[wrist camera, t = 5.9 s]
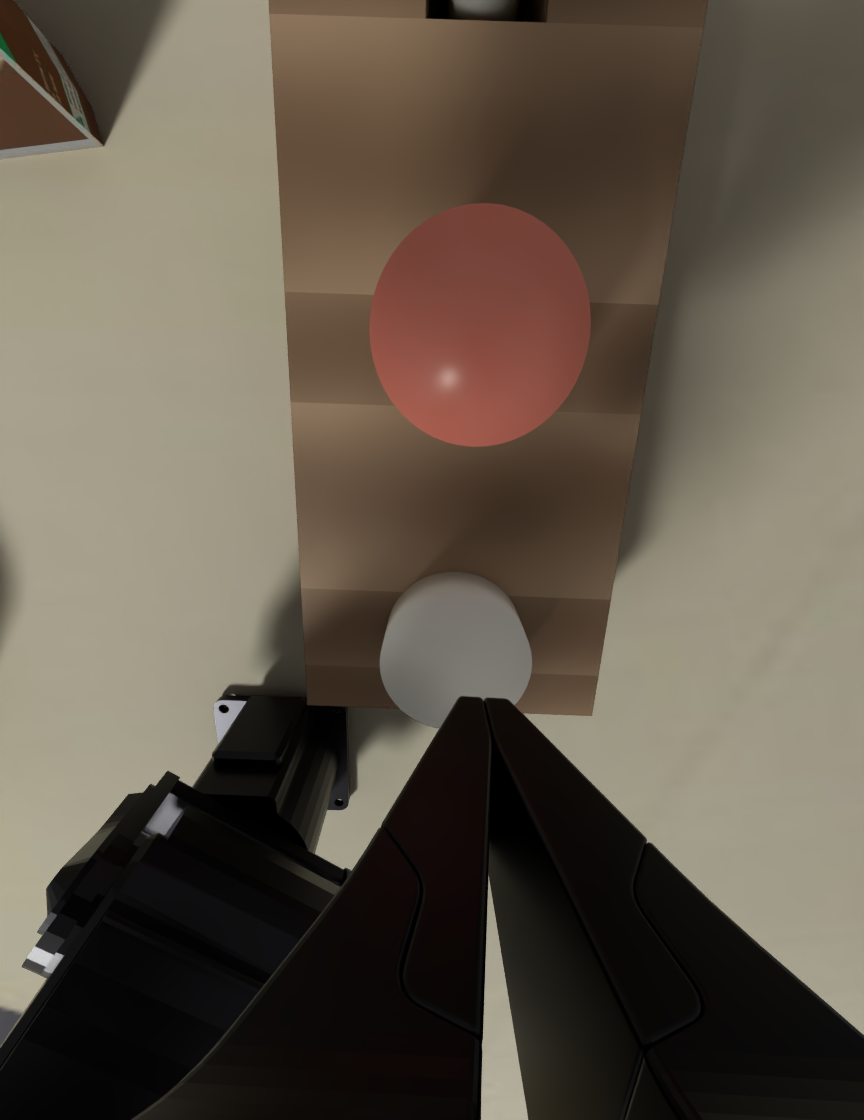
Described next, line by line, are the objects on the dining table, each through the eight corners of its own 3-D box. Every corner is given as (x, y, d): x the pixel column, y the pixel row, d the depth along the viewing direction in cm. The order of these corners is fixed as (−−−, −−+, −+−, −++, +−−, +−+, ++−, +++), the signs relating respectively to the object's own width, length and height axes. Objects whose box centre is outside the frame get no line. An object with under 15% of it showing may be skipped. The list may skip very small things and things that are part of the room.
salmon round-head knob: (517, 433, 17) (575, 450, 10) (399, 429, 17) (370, 443, 10) (529, 300, 16) (606, 207, 9) (401, 295, 16) (368, 198, 9)
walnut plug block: (552, 637, 22) (592, 716, 16) (341, 629, 22) (307, 705, 16) (632, -5, 15) (749, -257, 9) (323, -15, 15) (254, -271, 9)
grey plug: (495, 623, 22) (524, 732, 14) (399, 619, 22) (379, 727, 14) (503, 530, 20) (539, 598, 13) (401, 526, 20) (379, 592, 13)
